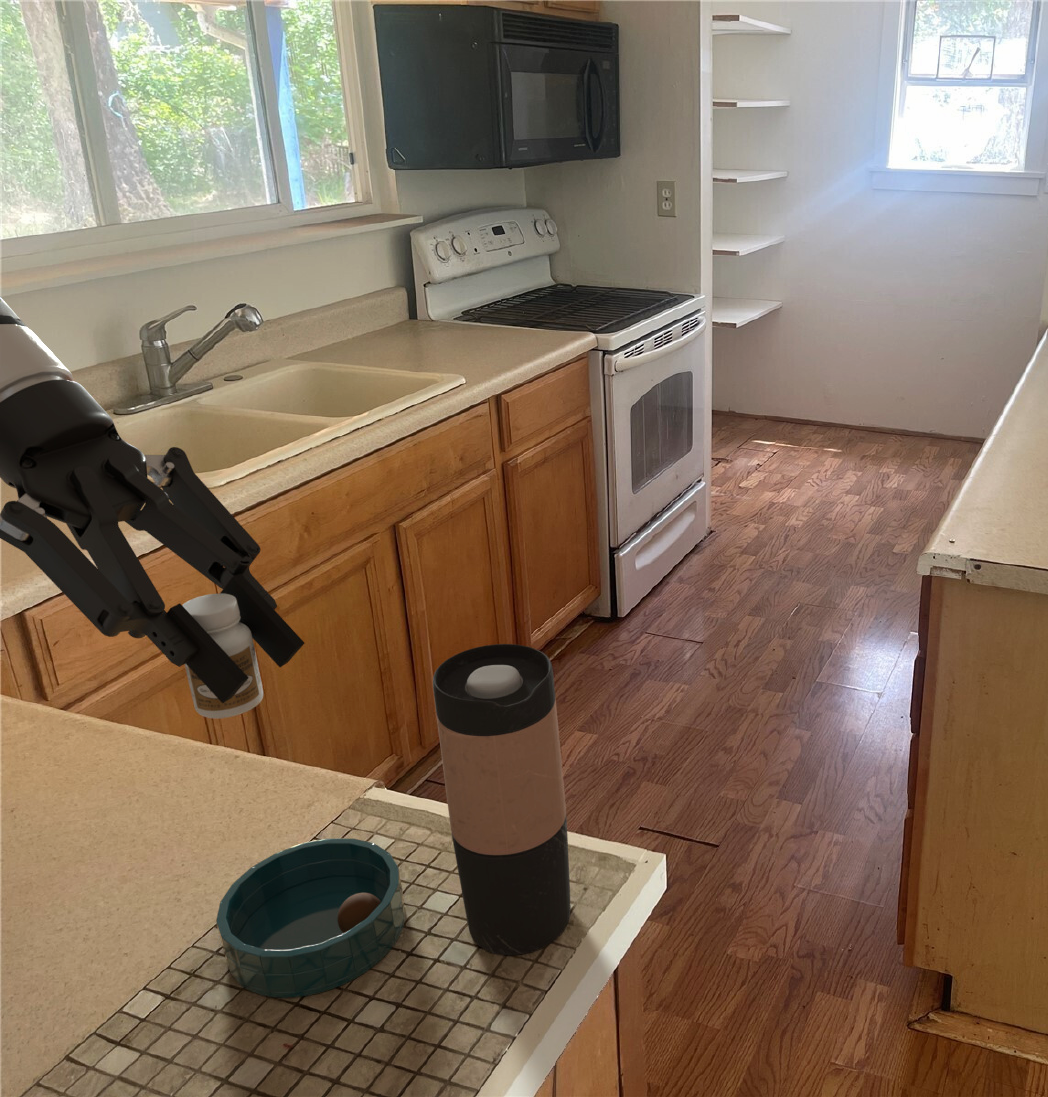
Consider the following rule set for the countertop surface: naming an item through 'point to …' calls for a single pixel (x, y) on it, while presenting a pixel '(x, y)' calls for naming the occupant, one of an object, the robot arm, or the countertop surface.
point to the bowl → (309, 917)
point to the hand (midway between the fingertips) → (264, 671)
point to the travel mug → (505, 794)
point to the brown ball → (356, 910)
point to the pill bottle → (237, 642)
